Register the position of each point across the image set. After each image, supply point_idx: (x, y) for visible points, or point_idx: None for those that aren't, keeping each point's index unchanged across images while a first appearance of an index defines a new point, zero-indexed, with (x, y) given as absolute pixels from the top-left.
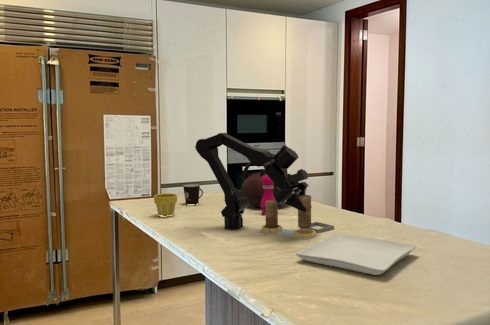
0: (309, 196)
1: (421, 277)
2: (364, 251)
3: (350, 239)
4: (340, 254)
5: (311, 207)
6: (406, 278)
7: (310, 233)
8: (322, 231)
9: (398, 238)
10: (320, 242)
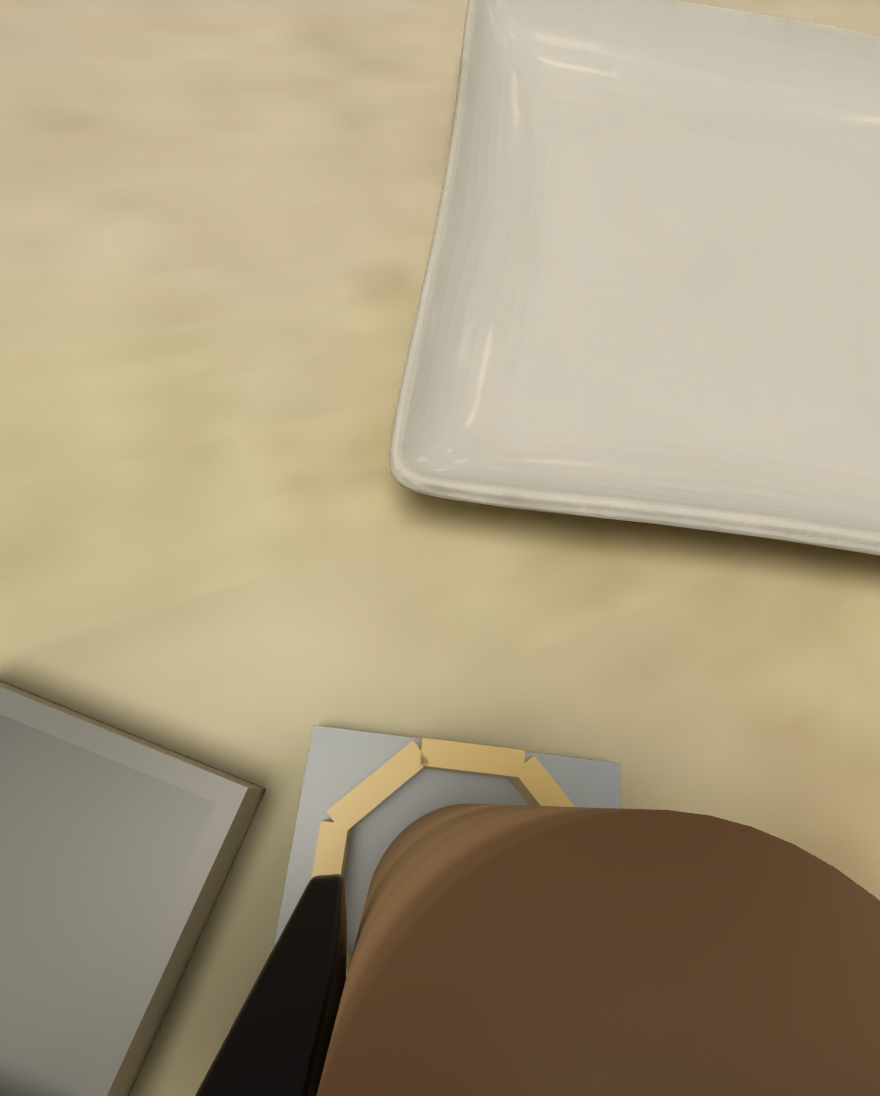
0: (678, 863)
1: (802, 19)
2: (600, 260)
3: (447, 363)
4: (766, 379)
5: (315, 876)
6: None
7: (347, 856)
8: (171, 753)
9: (75, 149)
10: (807, 520)
